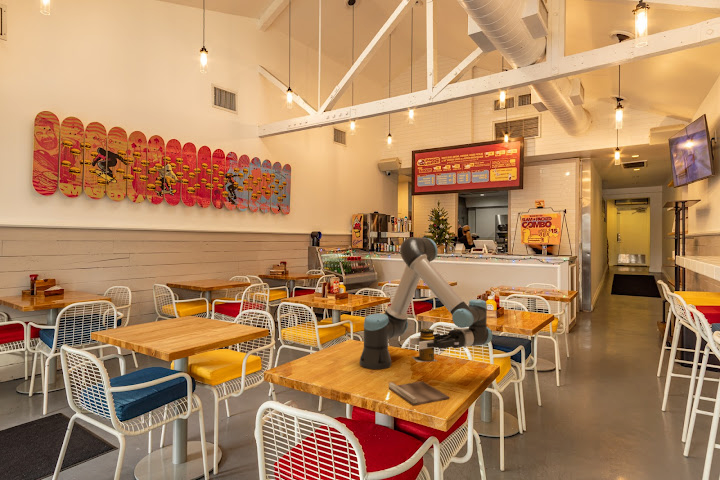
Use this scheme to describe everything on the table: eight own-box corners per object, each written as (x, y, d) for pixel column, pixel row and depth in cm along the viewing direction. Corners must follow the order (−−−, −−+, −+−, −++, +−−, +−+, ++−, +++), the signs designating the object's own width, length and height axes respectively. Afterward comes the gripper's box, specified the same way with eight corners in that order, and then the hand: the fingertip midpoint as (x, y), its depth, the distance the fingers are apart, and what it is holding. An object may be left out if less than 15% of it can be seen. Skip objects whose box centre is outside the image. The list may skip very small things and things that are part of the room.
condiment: (437, 361, 158) (438, 331, 158) (418, 362, 156) (418, 332, 156) (430, 356, 165) (430, 327, 165) (411, 357, 163) (411, 328, 163)
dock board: (422, 383, 166) (422, 377, 166) (449, 398, 149) (449, 392, 149) (388, 388, 159) (389, 382, 159) (413, 405, 142) (413, 399, 142)
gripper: (475, 352, 160) (428, 359, 149) (445, 341, 177) (401, 347, 167) (475, 334, 160) (428, 339, 150) (445, 325, 177) (402, 329, 167)
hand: (414, 343), depth 158 cm, fingers closed on condiment, 6 cm apart
